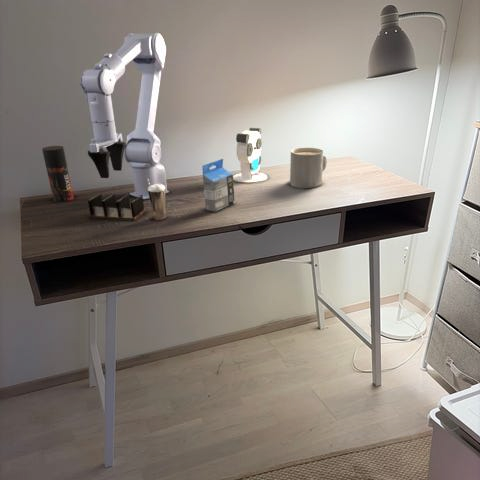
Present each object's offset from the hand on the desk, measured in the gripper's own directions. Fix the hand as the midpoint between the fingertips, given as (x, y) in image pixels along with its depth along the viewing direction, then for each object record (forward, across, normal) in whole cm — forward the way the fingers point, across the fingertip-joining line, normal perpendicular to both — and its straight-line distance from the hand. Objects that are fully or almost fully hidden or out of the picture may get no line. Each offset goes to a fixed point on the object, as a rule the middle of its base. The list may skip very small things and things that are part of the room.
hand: (111, 173), depth 138 cm
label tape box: (+11, -8, +28) cm, 31 cm away
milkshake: (+11, +4, +14) cm, 18 cm away
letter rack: (+10, +3, +2) cm, 11 cm away
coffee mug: (+11, -36, +50) cm, 62 cm away
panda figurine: (+11, -39, +29) cm, 50 cm away
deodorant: (+11, -8, -22) cm, 26 cm away
